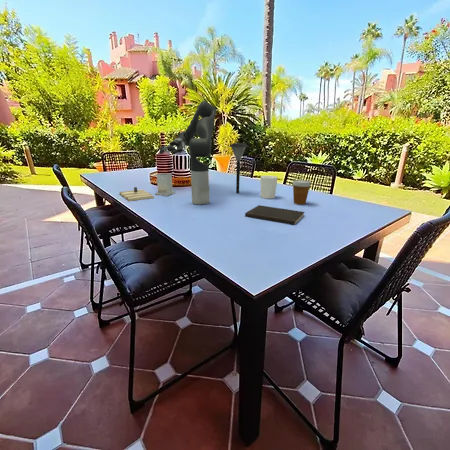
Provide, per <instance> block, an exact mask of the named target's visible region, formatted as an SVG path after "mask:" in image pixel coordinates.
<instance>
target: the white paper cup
mask: <svg viewBox="0 0 450 450" xmlns="http://www.w3.org/2000/svg"><path fill="white" fill-rule="evenodd" d="M277 185H278V176H276V175H261V176H260V198H262V199H266V200H267V199H268V200H270V199H275V198H276V192H277Z"/></svg>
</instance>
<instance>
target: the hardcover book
mask: <svg viewBox="0 0 450 450" xmlns="http://www.w3.org/2000/svg"><path fill="white" fill-rule="evenodd" d="M304 215H305V211H301V210H294V209H287V208H279V207H274V206H265V205H260V204H259V205H257V206H255V207H253V208H251V209H250V210H248V211H246V212H245V213H244V217H245V218H251V219H256V220H263V221H268V222H275V223H279V224H284V225H290V226H295V225H296V224H297V222H299V221H300V220H301V219H302V218H303V217H304Z"/></svg>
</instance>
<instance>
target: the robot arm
mask: <svg viewBox="0 0 450 450" xmlns="http://www.w3.org/2000/svg"><path fill="white" fill-rule="evenodd" d="M216 114H217V107H215V106H214V105H212V104H211V103H209V102H208V101H206V100H202V101H201V102H200V103H199V105H198V107H197V109H196V111H195V113H194V115H193V117H192V118H191V121H190V123H189V125H188V126H187V128H186V129H185V130H184V131H181V132H180V133H179V135H178V137H177V138H175V139H173V140H172V141H171V142H169V145H167V146H166V145H162V146H161V147H159V154H160V155H163V154H164V153H172V154H173V155H174V156H175V155H176V154H182V152H184V148H185V147H188V148H189V156H190V179H191V180H190V182H191V184H190V185H191V186H190V187H191V203H192V204H194V205H207V204H210V184H209V179H210V178H209V177H210V175H209V174H210V173H209V170H210V169H209V165H208V164H207V163H204V162H202V161H201V160H199V159H198V158H208V157H210V155H211V153H212V137H213V132H214V123H215V122H214V121H215V119H216ZM196 135H197V136H198V137H199V138H198V137H195V136H196Z"/></svg>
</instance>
